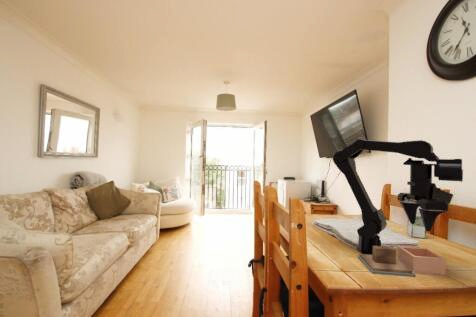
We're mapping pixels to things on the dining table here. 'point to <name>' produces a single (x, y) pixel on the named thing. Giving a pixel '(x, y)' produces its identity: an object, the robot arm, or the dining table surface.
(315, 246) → the dining table surface
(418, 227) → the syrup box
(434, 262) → the pink open tray
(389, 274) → the rubber mat
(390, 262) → the walnut lid
